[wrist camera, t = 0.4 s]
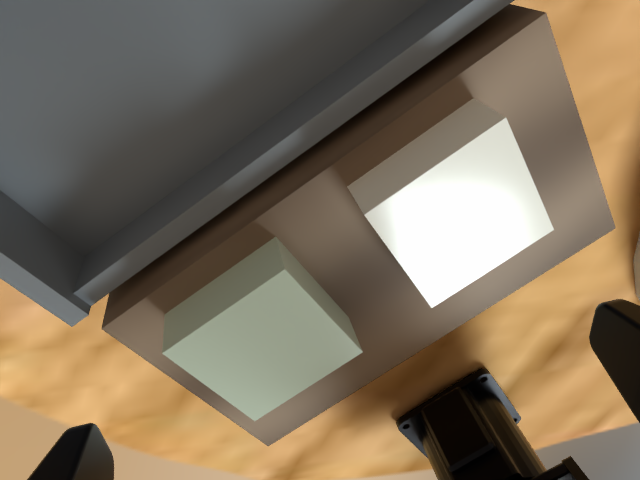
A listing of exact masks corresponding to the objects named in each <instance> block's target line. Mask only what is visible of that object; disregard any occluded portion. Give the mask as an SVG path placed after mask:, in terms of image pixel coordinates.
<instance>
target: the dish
mask: <svg viewBox="0 0 640 480" xmlns="http://www.w3.org/2000/svg"><path fill="white" fill-rule="evenodd" d="M633 262H634V276H635V289H636V295H637V297H638V299H639V301H640V233H639V238H638V242H637V246H636V250H635V255H634V259H633Z"/></svg>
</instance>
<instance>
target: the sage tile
mask: <svg viewBox="0 0 640 480" xmlns="http://www.w3.org/2000/svg"><path fill="white" fill-rule="evenodd" d="M362 352H363V351H362V349H361V346H360V344H359V341H358V339H357V336H356V334H355V332H354V329H353V327H352V324H351V322H350V319H349V317H348V316H347V315H346V314H345V313H344V311H343V310H342V309H341V308H340V307H339V306H338V305H337V304H336V303H335V301H334V300H333V299H332V298H331V297H330V296H329V295H328V294H327V293H326V291H325V290H324V289H323V288H322V287H321V286H320V285H319V284H318V283H317V282H316V280H315V279H314V278H313V277H312V276H311V275H310V274H309V273H308V272H307V270H306V269H305V268H304V267H303V266H302V265H301V264H300V263H299V262H298V260H297V259H296V258H295V257H294V256H293V255H292V254H291V253H290V252H289V250H288V249H287V248H286V247H285V246H284V245H283V244H282V243H281V242H280V241H279V239H278V238H277V237H274V238H273V239H272V240H270V241H269V242H267V243H266V244H264V245H263V246H262V247H260V248H259V249H257V250H256V251H254V252H253V253H252V254H250V255H249V256H247V257H246V258H244V259H243V260H242V261H240V262H239V263H237V264H236V265H234V266H233V267H232V268H230V269H229V270H227V271H226V272H224V273H223V274H222V275H220V276H219V277H217V278H216V279H214V280H213V281H212V282H210V283H209V284H207V285H206V286H204V287H203V288H202V289H200V290H199V291H197V292H196V293H194V294H193V295H192V296H190V297H189V298H187V299H186V300H184V301H183V302H182V303H180V304H179V305H177V306H176V307H174V308H173V309H172V310H170V311H169V312H167V313H166V314H165V317H164V332H163V347H162V354H163V355H165V356H166V357H168V358H169V359H170V360H172V361H173V362H174V363H176V364H177V365H179V366H180V367H181V368H183V369H184V370H185V371H187V372H188V373H189V374H191V375H192V376H194V377H195V378H196V379H198V380H199V381H200V382H202V383H203V384H204V385H206V386H207V387H209V388H210V389H211V390H213V391H214V392H215V393H217V394H218V395H219V396H221V397H222V398H224V399H225V400H226V401H228V402H229V403H230V404H232V405H233V406H234V407H236V408H237V409H239V410H240V411H241V412H243V413H244V414H245V415H247V416H248V417H249V418H251V419H252V420H254V421H256V420H258V419H259V418H261V417H262V416H264V415H266V414H267V413H269V412H270V411H272V410H273V409H275V408H276V407H278V406H280V405H281V404H283V403H284V402H286V401H287V400H289V399H291V398H292V397H294V396H295V395H297V394H298V393H300V392H301V391H303V390H305V389H306V388H308V387H309V386H311V385H312V384H314V383H316V382H317V381H319V380H320V379H322V378H323V377H325V376H326V375H328V374H330V373H331V372H333V371H334V370H336V369H337V368H339V367H341V366H342V365H344V364H345V363H347V362H348V361H350V360H351V359H353V358H355V357H356V356H358V355H359V354H361V353H362Z"/></svg>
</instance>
